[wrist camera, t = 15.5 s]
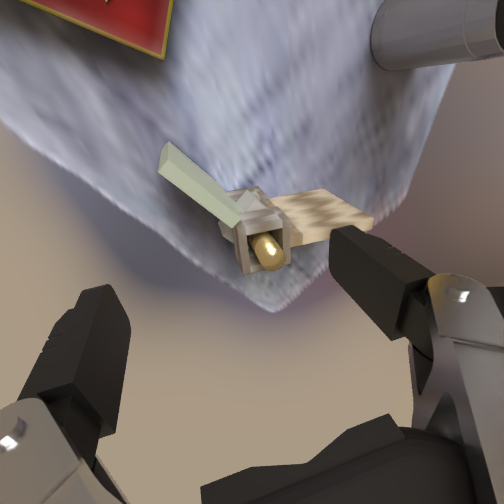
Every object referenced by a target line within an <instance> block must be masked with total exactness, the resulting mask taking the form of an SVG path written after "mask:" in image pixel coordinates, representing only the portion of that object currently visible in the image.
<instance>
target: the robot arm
mask: <svg viewBox="0 0 504 504" xmlns="http://www.w3.org/2000/svg"><path fill="white" fill-rule="evenodd" d="M371 47H372V52H373V56H374V58H375V60H376V62H377V63H378V64H379V65H380V66H381V67H382V68H384V69H386V70H390V71H392V70H401V69H410V68H420V67H428V66H437V65H445V64H454V63H462V62H470V61H479V60H487V59H494V58H502V57H504V0H385V1H384V3H383V4H382V5H381V7H380V9H379V11H378V13H377V15H376V17H375V20H374V23H373V28H372V33H371ZM329 269H330V272H331V274H332V276H333V278H334V279H335V280H336V281H337V282H338V283H339V284H340V286H341V287H343V289H344V290H345V291H346V292H347V293H348V294H349V295H350V296H351V298H352V299H353V300H354V301H355V302H356V303H357V304H358V305H359V306H360V307H361V308H362V310H363V311H364V312H365V313H366V314H367V315H368V316H369V317H370V318H371V319H372V320H373V322H374V323H375V324H376V325H377V326H378V327H379V328H380V329H381V330H382V331H383V332H384V333H385V335H386V336H387V337H388V338H389V339H390V340H391V341H393V340H396V339H399V338H402V337H406V338H407V339H409V341H410V342H409V345H408V354H409V363H410V373H411V382H412V392H413V415H412V427H411V428H410V427H398V426H397V424H396V423H395V422H394V420H393V419H392V417H391V416H390V414H386V415H383V416H380V417H378V418H375V419H373V420H370V421H368V422H365V423H362V424H360V425H357V426H355V427H352V428H350V429H347V430H346V431H345V432H344V433H342V434H341V435H340V436H339V437H337V438H336V439H335V440H334V441H333V442H332V443H331V444H329V445H328V446H327V447H326V448H325V449H323V450H322V451H321V452H320V453H319V454H318V455H316V456H315V457H314V458H313V459H312V460H310V461H309V462H307V463H304V464H295V465H294V464H293V465H277V466H259V467H250V468H247V469H245V470H242V471H240V472H237V473H234V474H232V475H229V476H227V477H224V478H222V479H219V480H217V481H214V482H211V483H209V484H206V485H204V486H201V487H200V489H201V501H202V504H504V287H484V286H483V285H482V284H480V283H479V282H477V281H475V280H473V279H470V278H468V277H465V276H461V275H456V274H438V275H436V274H434V273H433V272H431V271H430V270H428V269H427V268H425V267H424V266H422V265H421V264H419V263H418V262H416V261H415V260H413V259H412V258H410V257H409V256H407V255H406V254H404V253H403V254H402V253H401V251H400V250H398V249H397V248H395V247H392V245H391V244H389V243H388V242H386V241H385V240H383V239H381V238H379V237H375V236H373V235H370V234H366V233H364V232H363V231H362V230H360V229H359V228H357V227H356V226H354V225H347V226H343V227H339V228H335V229H332V230H331V232H330V242H329ZM130 337H131V327H130V322H129V318H128V316H127V314H126V312H125V310H124V309H123V306H122V305H121V303H120V301H119V299H118V297H117V295H116V293H115V291H114V289H113V288H112V286H111V285H109V284H106V285H102V286H98V287H94V288H90V289H86V290H83V291H82V292H81V294H80V296H79V298H78V301H77V303H76V305H75V307H74V309H69V310H68V311H67V312H66V313H65V314H64V315H63V316H62V317H61V318H60V319H59V320H58V321H57V322H56V323H55V325H54V327H53V329H52V331H51V333H50V335H49V337H48V338H49V340H47V341H46V343H45V345H44V347H43V349H42V350H43V352H42V353H40V355H39V357H38V359H37V361H36V363H35V365H34V367H33V369H32V371H31V373H30V375H29V377H28V379H27V381H26V383H25V385H24V387H23V389H22V391H21V393H20V395H19V397H18V399H17V401H16V402H14V403H12V404H10V405H8V406H6V407H5V408H3V409H2V410H0V504H130V503H129V501H128V500H127V498H126V497H125V495H124V494H123V492H122V491H121V489H120V488H119V486H118V485H117V483H116V482H115V480H114V479H113V478H112V476H111V475H110V473H109V472H108V470H107V468H106V467H105V466H104V464H103V463H102V461H101V460H100V458H99V457H98V456H97V455H96V449H97V445H98V440H99V438H102V437H105V436H108V435H111V434H114V433H115V432H116V426H117V419H118V413H119V407H120V400H121V394H122V388H123V381H124V374H125V369H126V362H127V356H128V350H129V343H130Z"/></svg>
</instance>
